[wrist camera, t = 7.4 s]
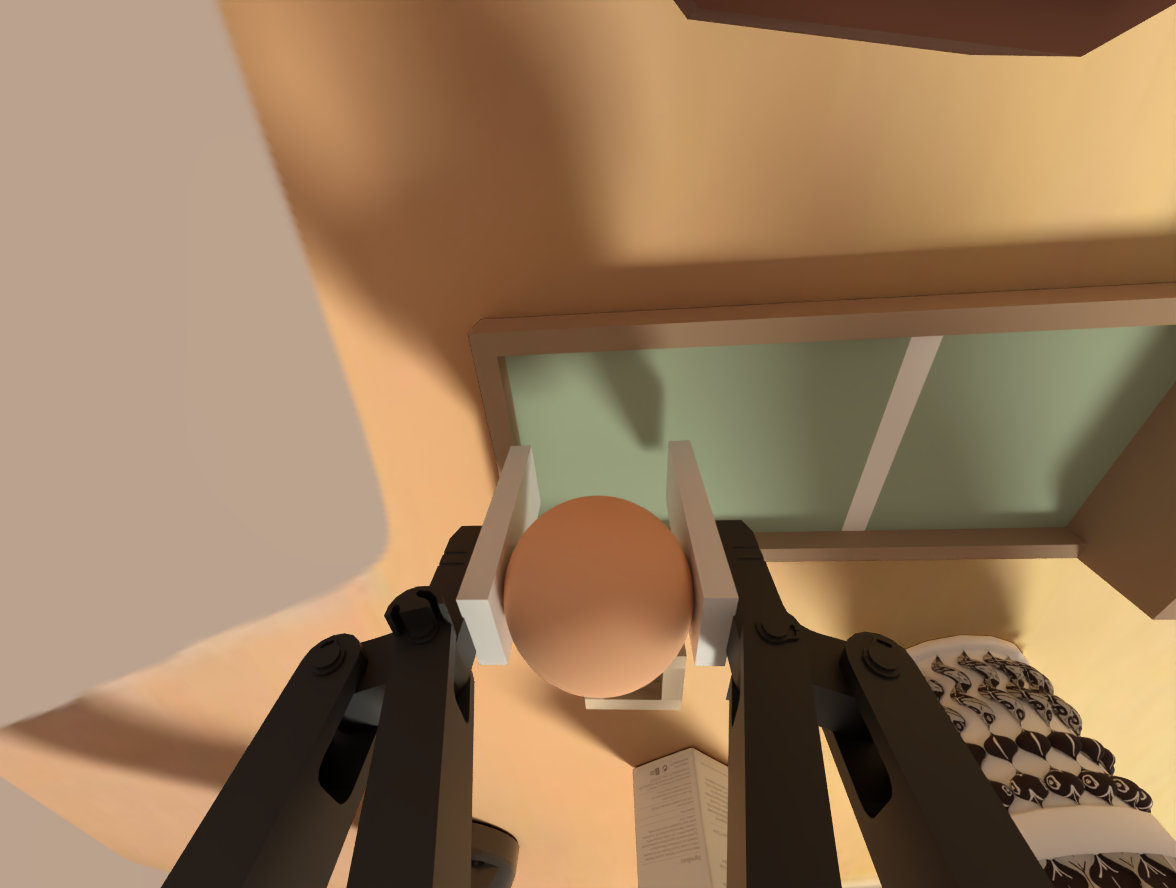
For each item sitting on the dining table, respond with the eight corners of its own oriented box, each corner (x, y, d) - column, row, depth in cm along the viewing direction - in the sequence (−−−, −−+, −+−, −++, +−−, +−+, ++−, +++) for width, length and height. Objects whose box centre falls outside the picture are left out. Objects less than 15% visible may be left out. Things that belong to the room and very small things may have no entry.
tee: (589, 618, 24) (586, 709, 20) (584, 565, 21) (579, 656, 17) (667, 617, 23) (680, 710, 19) (671, 564, 21) (686, 656, 17)
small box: (630, 766, 34) (641, 1044, 23) (692, 744, 32) (737, 1044, 21) (692, 796, 37) (727, 1055, 26) (753, 778, 35) (821, 1057, 24)
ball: (531, 577, 15) (504, 737, 11) (508, 462, 12) (458, 615, 8) (674, 574, 14) (703, 737, 10) (682, 456, 12) (727, 611, 8)
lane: (524, 539, 20) (506, 621, 17) (480, 319, 15) (436, 368, 11) (1072, 530, 19) (1189, 619, 15) (1266, 277, 13) (1536, 319, 9)
